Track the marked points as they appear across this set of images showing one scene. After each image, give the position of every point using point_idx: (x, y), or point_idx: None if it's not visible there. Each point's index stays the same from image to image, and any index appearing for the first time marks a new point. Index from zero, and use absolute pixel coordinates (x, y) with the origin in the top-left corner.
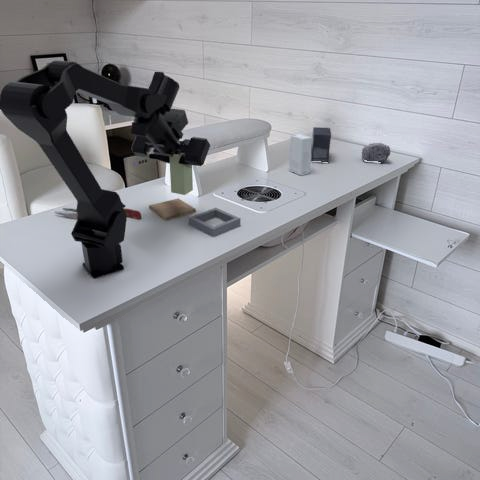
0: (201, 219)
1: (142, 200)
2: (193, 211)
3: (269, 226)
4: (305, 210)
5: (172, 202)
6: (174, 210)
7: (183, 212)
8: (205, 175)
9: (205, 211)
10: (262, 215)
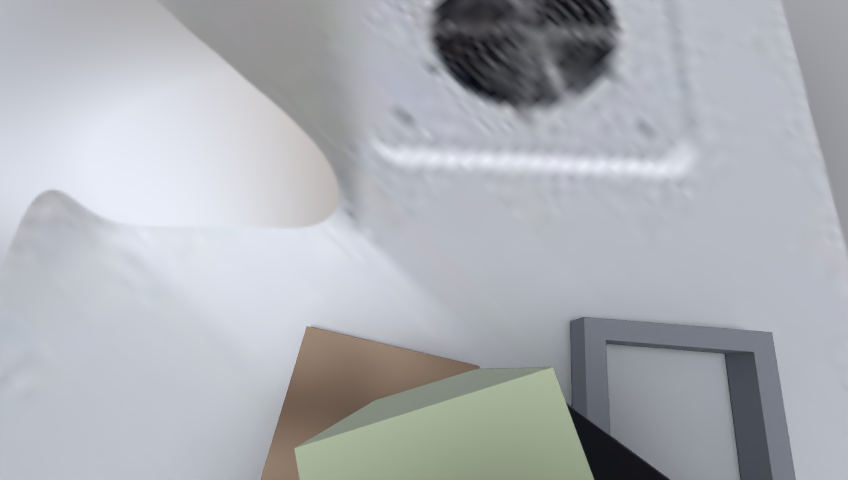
0: None
1: (145, 463)
2: None
3: (820, 250)
4: (775, 38)
5: (323, 391)
6: None
7: None
8: (192, 18)
9: (589, 396)
10: (710, 183)
